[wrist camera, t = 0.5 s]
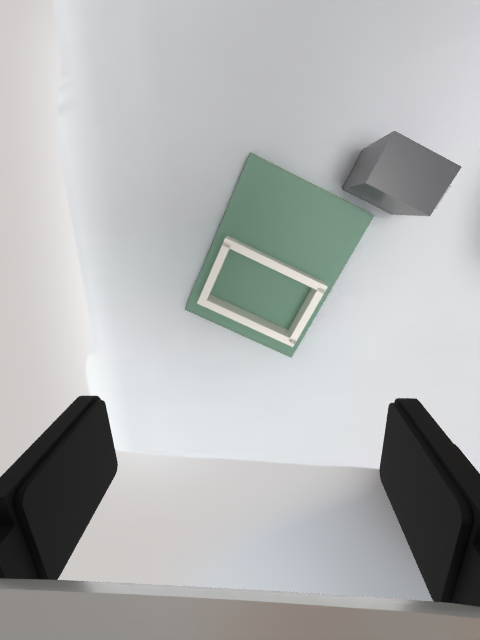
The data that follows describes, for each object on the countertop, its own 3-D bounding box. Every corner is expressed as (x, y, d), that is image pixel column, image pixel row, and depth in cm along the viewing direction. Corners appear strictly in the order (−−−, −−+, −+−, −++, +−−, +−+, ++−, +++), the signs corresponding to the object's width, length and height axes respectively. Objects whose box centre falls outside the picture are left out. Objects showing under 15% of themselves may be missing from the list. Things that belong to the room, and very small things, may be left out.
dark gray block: (362, 149, 32) (394, 130, 24) (421, 180, 32) (470, 171, 25) (342, 188, 33) (365, 183, 25) (398, 217, 33) (438, 220, 26)
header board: (250, 154, 32) (249, 147, 29) (370, 215, 33) (383, 215, 30) (187, 306, 38) (179, 316, 35) (290, 353, 39) (293, 367, 36)
